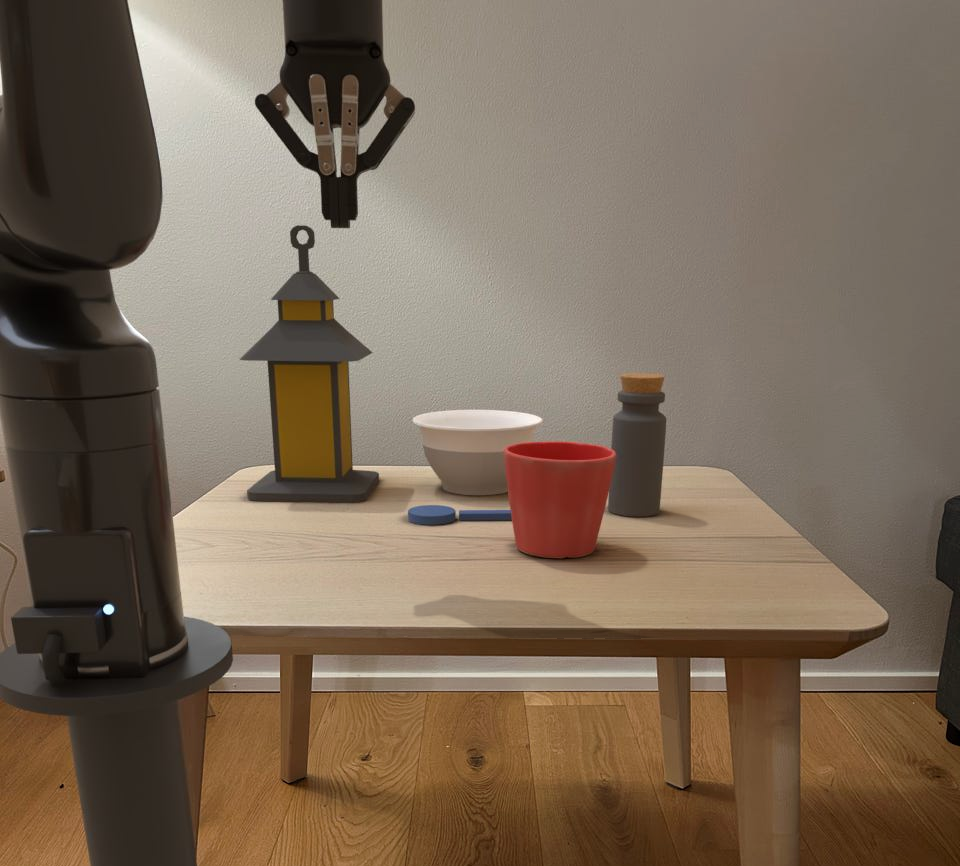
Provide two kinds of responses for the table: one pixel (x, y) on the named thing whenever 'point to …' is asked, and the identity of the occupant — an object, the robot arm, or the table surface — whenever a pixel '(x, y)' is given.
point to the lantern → (310, 394)
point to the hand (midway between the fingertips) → (340, 227)
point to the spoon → (452, 515)
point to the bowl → (473, 446)
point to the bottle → (638, 447)
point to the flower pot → (557, 495)
